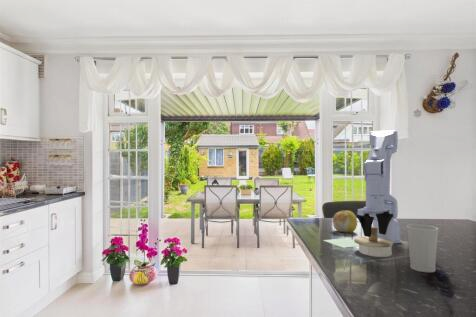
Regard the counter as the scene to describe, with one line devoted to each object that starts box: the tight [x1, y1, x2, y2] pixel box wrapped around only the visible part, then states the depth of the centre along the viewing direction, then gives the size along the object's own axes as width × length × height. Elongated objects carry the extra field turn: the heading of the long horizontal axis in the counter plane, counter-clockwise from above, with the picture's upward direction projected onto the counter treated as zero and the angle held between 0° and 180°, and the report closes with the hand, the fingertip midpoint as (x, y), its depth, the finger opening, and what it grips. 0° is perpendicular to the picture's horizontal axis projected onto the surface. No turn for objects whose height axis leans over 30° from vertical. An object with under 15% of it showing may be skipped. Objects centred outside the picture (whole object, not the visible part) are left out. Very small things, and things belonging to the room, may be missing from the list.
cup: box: [406, 224, 439, 273], centre depth 92 cm, size 8×8×12 cm
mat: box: [322, 237, 359, 249], centre depth 121 cm, size 12×12×1 cm
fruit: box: [332, 210, 358, 234], centre depth 141 cm, size 10×11×10 cm
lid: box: [353, 226, 394, 247], centre depth 108 cm, size 12×12×5 cm
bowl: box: [358, 244, 393, 258], centre depth 107 cm, size 10×10×4 cm
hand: (375, 235), depth 107 cm, fingers open, 7 cm apart
